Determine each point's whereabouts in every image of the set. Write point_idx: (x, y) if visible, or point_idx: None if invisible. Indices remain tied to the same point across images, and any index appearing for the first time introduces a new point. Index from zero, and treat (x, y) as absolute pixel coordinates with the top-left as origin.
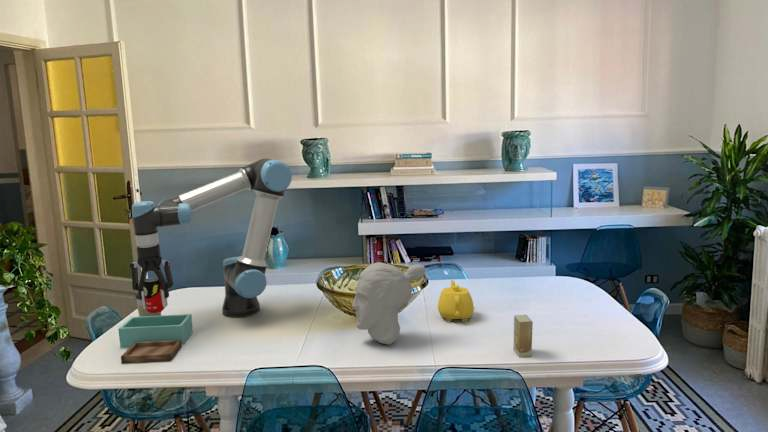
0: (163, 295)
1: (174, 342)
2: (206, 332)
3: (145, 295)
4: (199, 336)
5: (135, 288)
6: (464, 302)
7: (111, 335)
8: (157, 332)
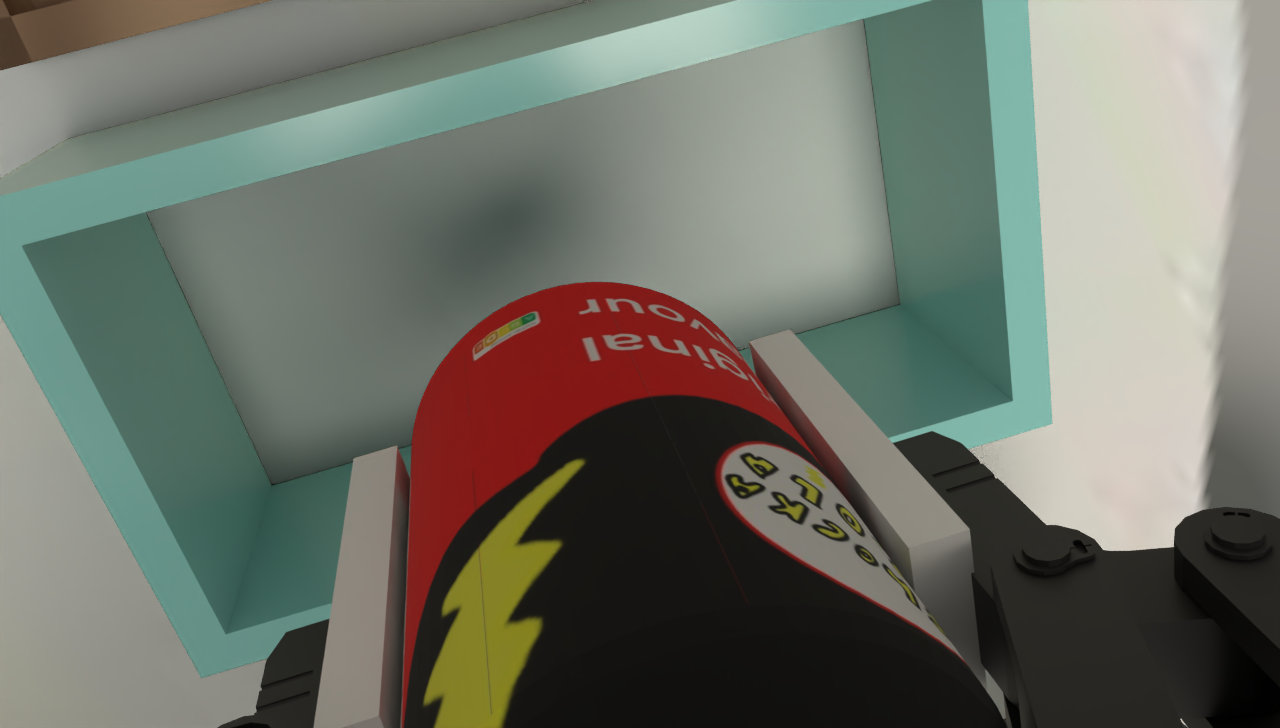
0: (339, 628)
1: (63, 3)
2: (58, 538)
3: (787, 456)
4: (53, 416)
5: (1197, 551)
6: None
7: (1174, 264)
8: (388, 77)
